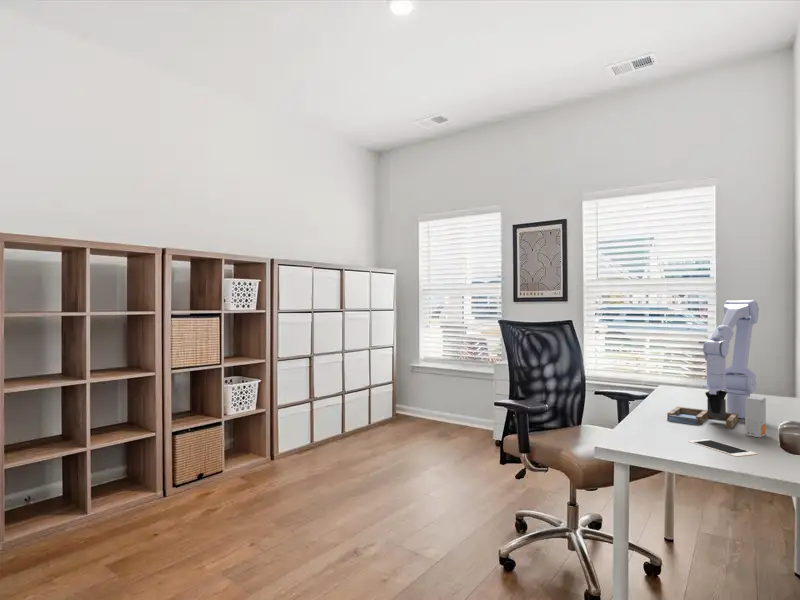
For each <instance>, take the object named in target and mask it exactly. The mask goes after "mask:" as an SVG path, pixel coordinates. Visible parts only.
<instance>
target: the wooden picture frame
mask: <svg viewBox="0 0 800 600" xmlns="http://www.w3.org/2000/svg"><path fill="white" fill-rule="evenodd" d="M666 414H667V421H668V422H673V423H682V424H689V425H695V426H697V425H702V424H703V423H704V422H705V421H706V420H707V419H715V420H723V421H725V428H726V429H733V427H734V426H735V425H736V423H738V421H739V418H738V414H736V413H727V411H726V417H725V418H721V417H713V416H708V409H699V408H691V407H684V406H683V407H682V406H676V407H675V408H673V409H671V410H670V411H669V412H667V413H666Z"/></svg>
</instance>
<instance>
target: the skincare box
mask: <svg viewBox="0 0 800 600" xmlns="http://www.w3.org/2000/svg"><path fill="white" fill-rule="evenodd" d="M766 400H767V399H766V397H761V396H753V395H750V397H748V398H745V419H744V420H745V421H744V425H745V426H744V427H745V429H744V430H745V431H744V433H745V434H744V435H745V436H748V437H749V436H750V437H755V438H762V437H764V436H766V435H767V419H766V417H767V412H766V411H767V408H766V407H767V405H766V404H767V403H766V402H767V401H766Z"/></svg>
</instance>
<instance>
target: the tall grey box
mask: <svg viewBox="0 0 800 600" xmlns="http://www.w3.org/2000/svg"><path fill="white" fill-rule="evenodd" d="M706 399H707V400H706V401H707V410H708V416H713V417H721V418H725V417H726V412H727V398H726V399H725V398H724V399H722V402H721V408H720V412H719V413H712V411H711V407H710V403H709V400H708V398H706Z"/></svg>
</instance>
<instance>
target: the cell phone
mask: <svg viewBox="0 0 800 600" xmlns="http://www.w3.org/2000/svg"><path fill="white" fill-rule="evenodd" d="M687 442H688V443H690V444H694V445H697V446H701V447H705V448H707V449H710V450H713V451H716V452H719V453H722V454H726V455H729V456H731V457H737V458H738V457H739V458H740V457H747V456H748V457H749V456H757V455H758V453H757V452H753V451H750V450H747V449H743V448H740V447H736V446H733V445H731V444H727V443H723V442H720V441H716V440H712V439H709V438H708V439H707V438H706V439H705V438H704V439H694V440H688V441H687Z"/></svg>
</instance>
